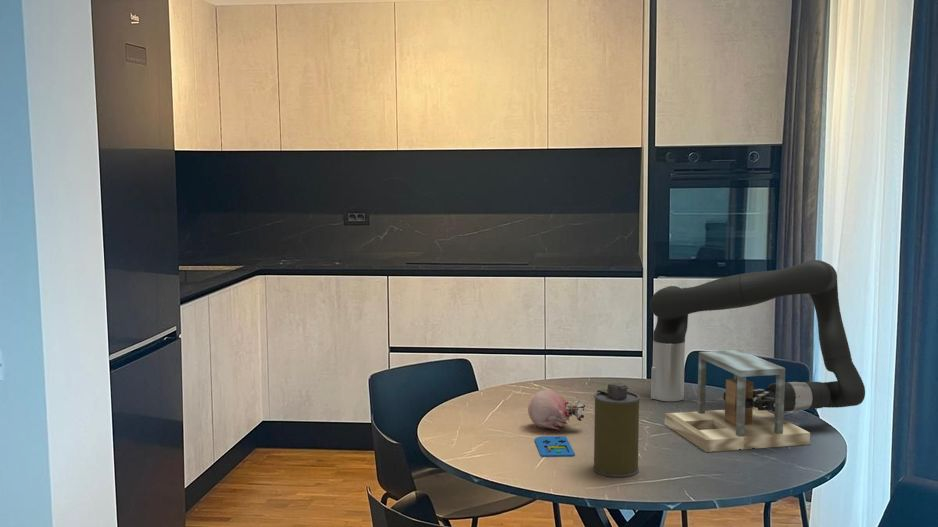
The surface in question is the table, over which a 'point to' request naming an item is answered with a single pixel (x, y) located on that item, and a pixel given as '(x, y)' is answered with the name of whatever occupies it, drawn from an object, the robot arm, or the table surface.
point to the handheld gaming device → (554, 446)
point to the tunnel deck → (737, 410)
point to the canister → (616, 431)
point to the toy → (552, 410)
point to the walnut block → (732, 401)
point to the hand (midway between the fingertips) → (730, 400)
